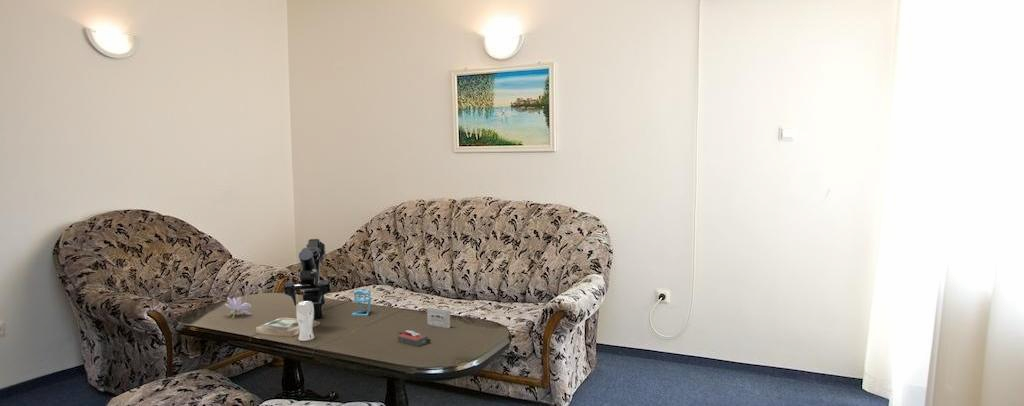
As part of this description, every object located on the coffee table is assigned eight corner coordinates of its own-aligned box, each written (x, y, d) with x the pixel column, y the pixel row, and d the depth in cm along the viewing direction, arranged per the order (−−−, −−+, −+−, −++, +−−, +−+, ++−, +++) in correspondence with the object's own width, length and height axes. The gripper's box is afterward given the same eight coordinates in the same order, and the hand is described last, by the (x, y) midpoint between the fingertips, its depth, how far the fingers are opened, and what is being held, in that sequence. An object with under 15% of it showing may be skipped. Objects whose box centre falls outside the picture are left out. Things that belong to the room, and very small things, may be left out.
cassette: (451, 327, 255) (450, 310, 255) (448, 328, 254) (448, 311, 253) (429, 323, 261) (428, 306, 261) (426, 324, 260) (426, 307, 259)
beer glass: (309, 341, 238) (307, 305, 237) (293, 340, 239) (292, 304, 238) (318, 336, 245) (316, 301, 244) (303, 335, 246) (301, 300, 245)
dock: (286, 321, 268) (285, 313, 267) (319, 324, 262) (319, 316, 262) (256, 333, 250) (255, 324, 250) (291, 337, 244) (290, 328, 244)
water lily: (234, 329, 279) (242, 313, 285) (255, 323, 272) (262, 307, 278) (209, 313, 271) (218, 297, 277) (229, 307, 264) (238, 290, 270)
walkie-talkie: (434, 342, 236) (400, 333, 248) (434, 331, 236) (400, 323, 248) (419, 348, 229) (384, 339, 241) (418, 337, 229) (384, 328, 241)
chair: (374, 311, 282) (373, 287, 281) (367, 316, 274) (366, 291, 273) (359, 311, 283) (358, 286, 282) (351, 315, 275) (350, 290, 274)
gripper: (283, 264, 249) (280, 295, 239) (329, 261, 253) (328, 292, 243) (286, 278, 257) (284, 309, 247) (331, 276, 261) (330, 306, 252)
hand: (306, 304), depth 247 cm, fingers open, 9 cm apart
